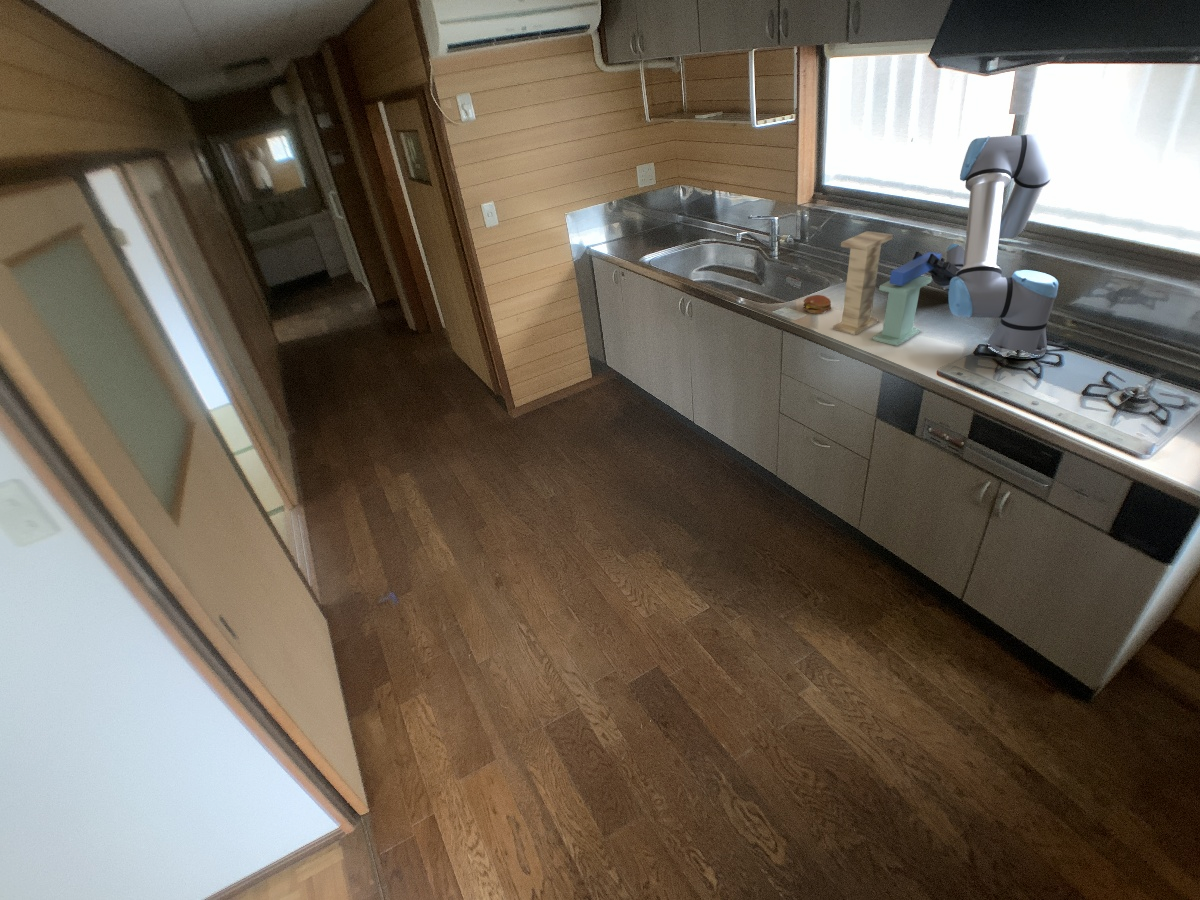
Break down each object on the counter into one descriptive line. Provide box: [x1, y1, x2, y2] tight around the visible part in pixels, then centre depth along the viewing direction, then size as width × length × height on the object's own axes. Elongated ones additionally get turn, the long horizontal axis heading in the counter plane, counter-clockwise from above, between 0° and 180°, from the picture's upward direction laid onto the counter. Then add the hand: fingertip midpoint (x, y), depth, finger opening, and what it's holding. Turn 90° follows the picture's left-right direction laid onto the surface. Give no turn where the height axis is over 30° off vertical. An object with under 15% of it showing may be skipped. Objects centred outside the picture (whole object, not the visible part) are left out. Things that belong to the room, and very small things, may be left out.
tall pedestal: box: [832, 230, 894, 336], centre depth 205 cm, size 15×9×30 cm, turn 129°
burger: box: [802, 294, 832, 315], centre depth 227 cm, size 10×9×5 cm
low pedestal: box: [872, 275, 933, 347], centre depth 198 cm, size 15×9×18 cm, turn 129°
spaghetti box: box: [889, 251, 942, 286], centre depth 193 cm, size 23×4×4 cm, turn 129°
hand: (922, 257), depth 194 cm, fingers closed on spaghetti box, 4 cm apart
